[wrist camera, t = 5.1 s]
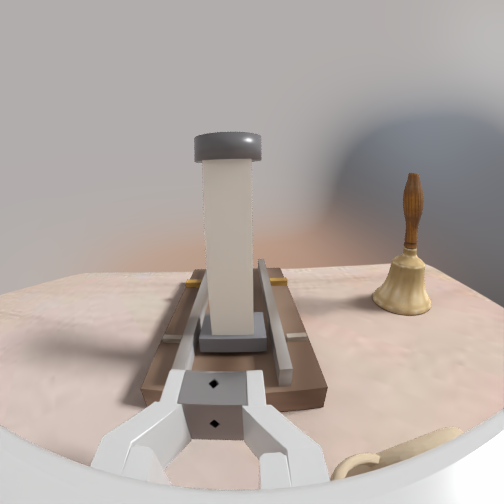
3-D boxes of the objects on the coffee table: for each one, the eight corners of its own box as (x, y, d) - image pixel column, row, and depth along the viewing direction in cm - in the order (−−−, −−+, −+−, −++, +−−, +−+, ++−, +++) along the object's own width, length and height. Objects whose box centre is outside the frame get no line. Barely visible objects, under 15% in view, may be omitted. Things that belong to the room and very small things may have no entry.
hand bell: (394, 320, 26) (412, 170, 22) (361, 292, 34) (370, 169, 30) (442, 309, 27) (461, 179, 23) (407, 285, 35) (418, 175, 31)
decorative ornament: (454, 491, 6) (507, 436, 5) (311, 538, 6) (337, 509, 5) (431, 447, 10) (469, 387, 9) (303, 478, 10) (319, 426, 9)
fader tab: (200, 353, 19) (185, 134, 15) (206, 323, 23) (197, 143, 19) (266, 352, 19) (267, 131, 15) (262, 323, 23) (261, 141, 19)
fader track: (147, 408, 15) (135, 371, 15) (195, 282, 39) (194, 259, 38) (323, 406, 16) (331, 370, 15) (279, 281, 39) (280, 257, 38)
